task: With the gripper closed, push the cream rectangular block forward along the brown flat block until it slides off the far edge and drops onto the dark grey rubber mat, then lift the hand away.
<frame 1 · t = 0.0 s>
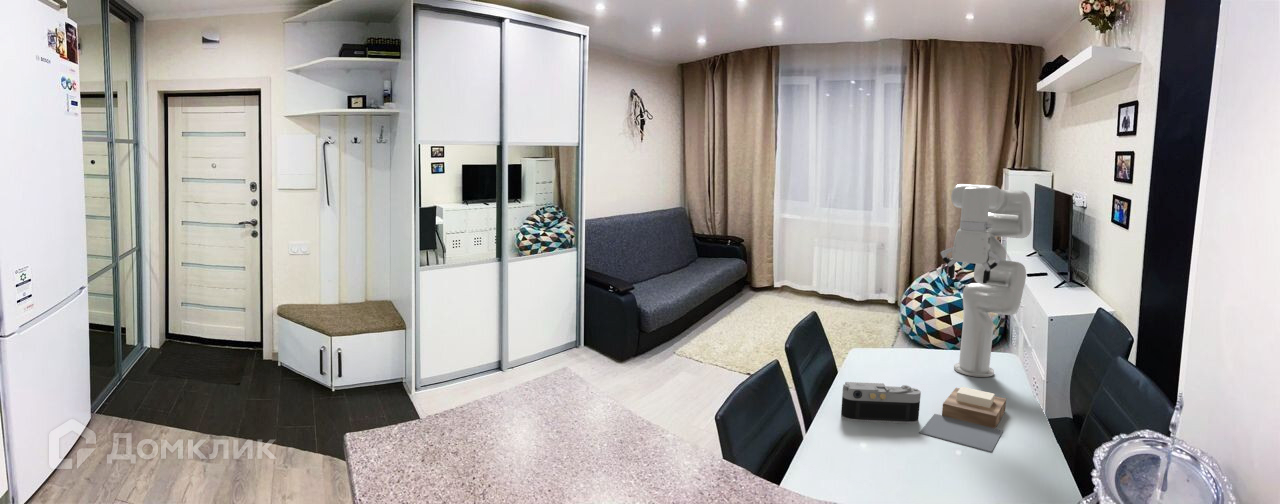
hand: (968, 280, 205), 37 cm above the table, tool pointing down, fingers open, 9 cm apart
mat: (961, 432, 182), on the table
camera: (878, 417, 192), on the table
brown flat block: (973, 413, 194), on the table
cream rectangular block: (975, 401, 194), point 4 cm above the table, touching brown flat block
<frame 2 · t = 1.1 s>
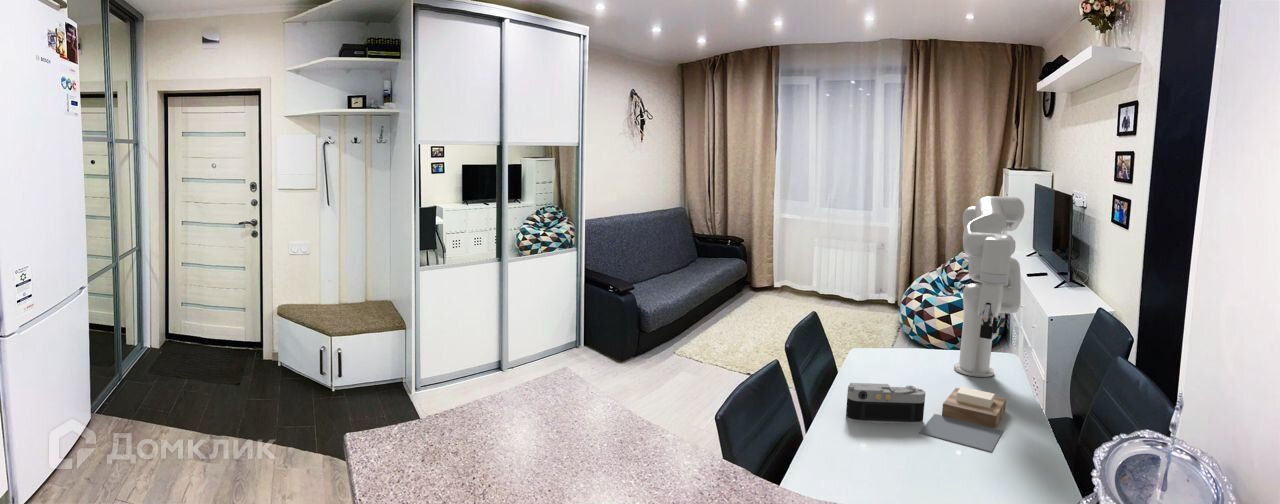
hand: (988, 334, 199), 22 cm above the table, tool pointing down, fingers open, 6 cm apart
camera: (882, 418, 192), on the table
everything else where it was.
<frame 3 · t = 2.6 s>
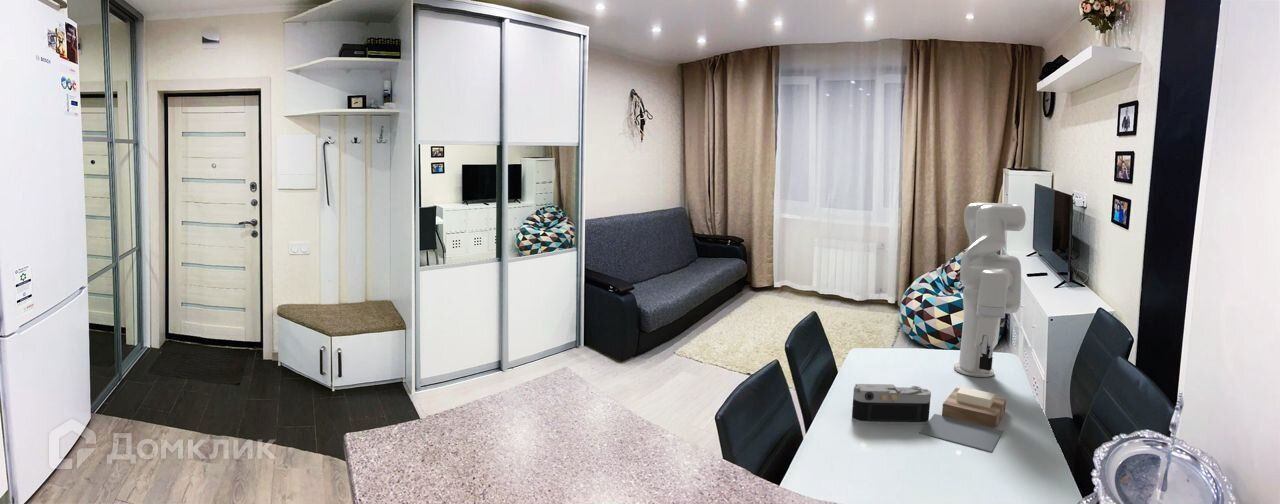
hand: (985, 369, 200), 11 cm above the table, tool pointing down, fingers closed
camera: (888, 418, 191), on the table
everything else where it was.
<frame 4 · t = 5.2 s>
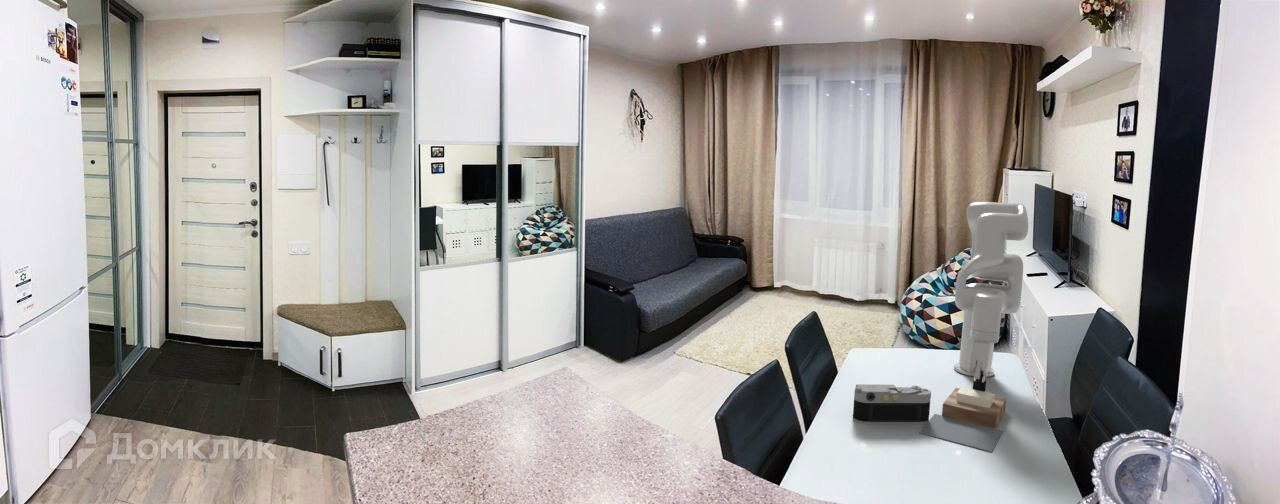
hand: (978, 393, 197), 5 cm above the table, tool pointing down, fingers closed
cream rectangular block: (974, 401, 193), point 4 cm above the table, touching gripper
everything else where it was.
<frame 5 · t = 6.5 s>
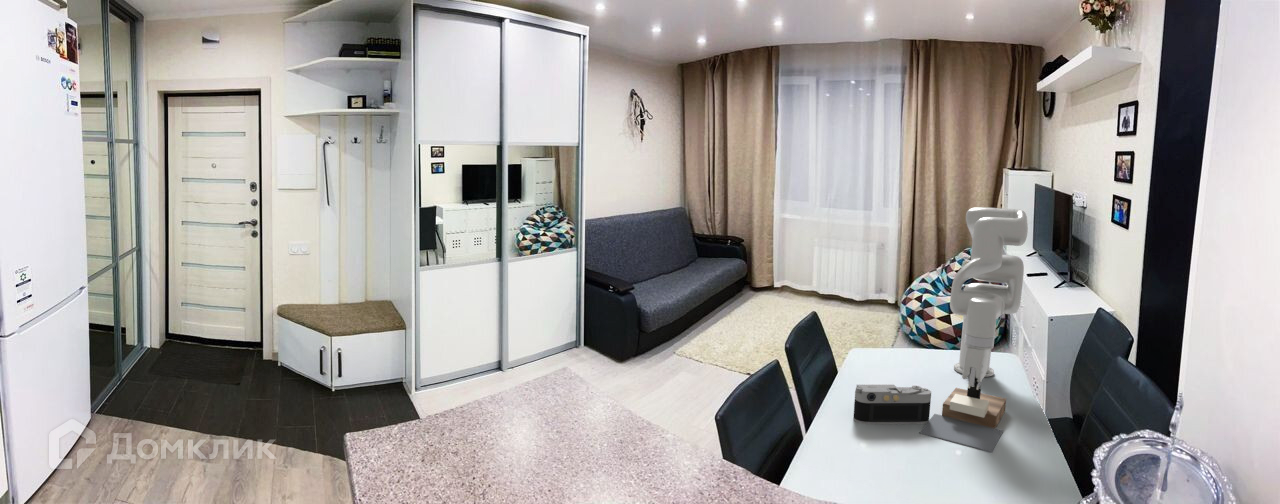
hand: (973, 401, 191), 5 cm above the table, tool pointing down, fingers closed
cream rectangular block: (969, 409, 188), point 4 cm above the table
everything else where it was.
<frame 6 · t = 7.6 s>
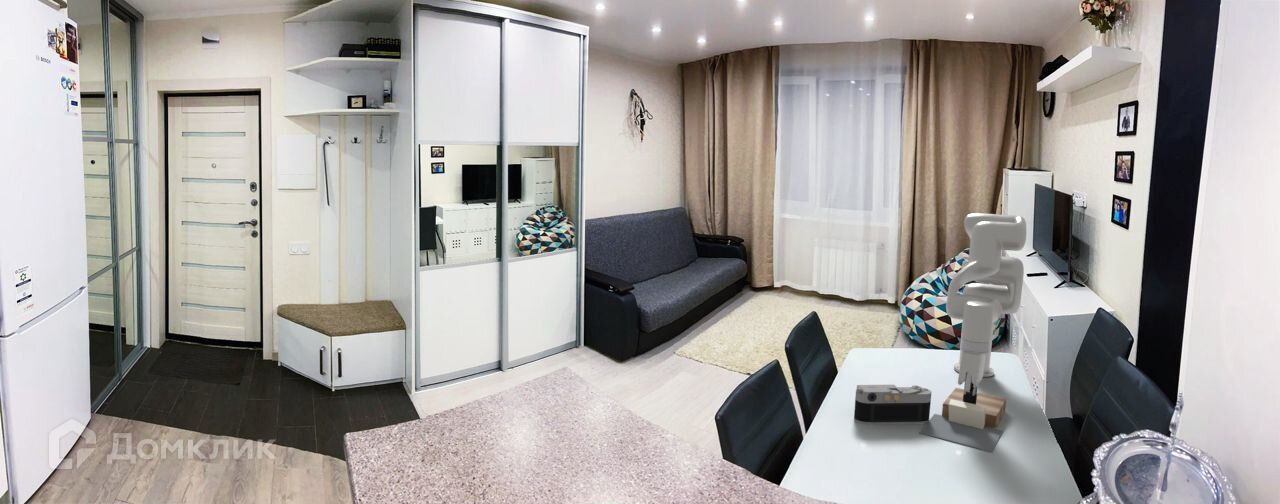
hand: (969, 406, 187), 5 cm above the table, tool pointing down, fingers closed
cream rectangular block: (967, 411, 186), point 4 cm above the table, tilted 108°, touching mat
everything else where it was.
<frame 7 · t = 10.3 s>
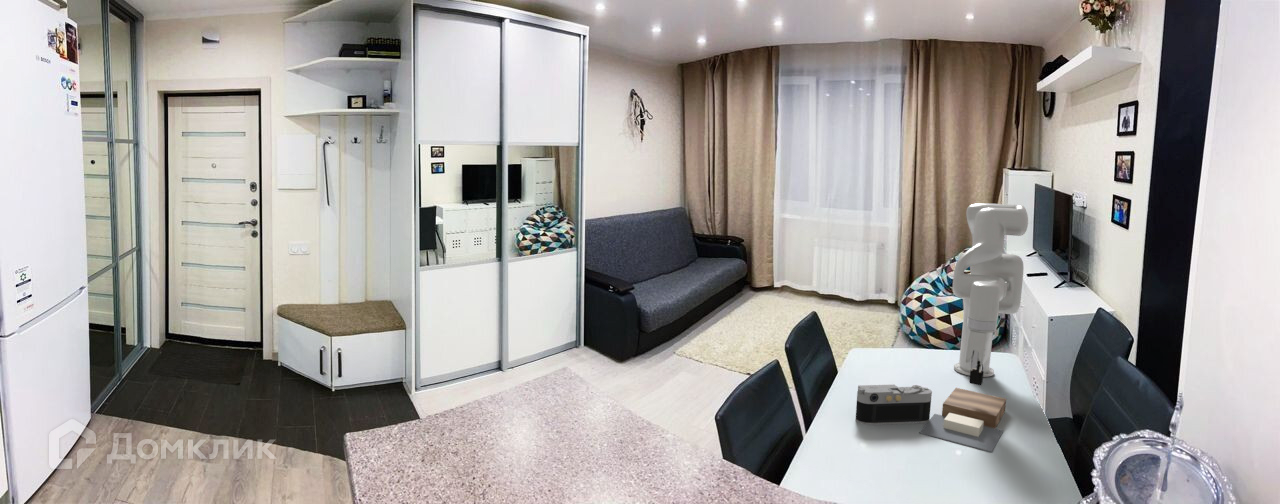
hand: (975, 383, 192), 10 cm above the table, tool pointing down, fingers closed
cream rectangular block: (963, 420, 183), point 3 cm above the table, tilted 180°, touching mat
everything else where it was.
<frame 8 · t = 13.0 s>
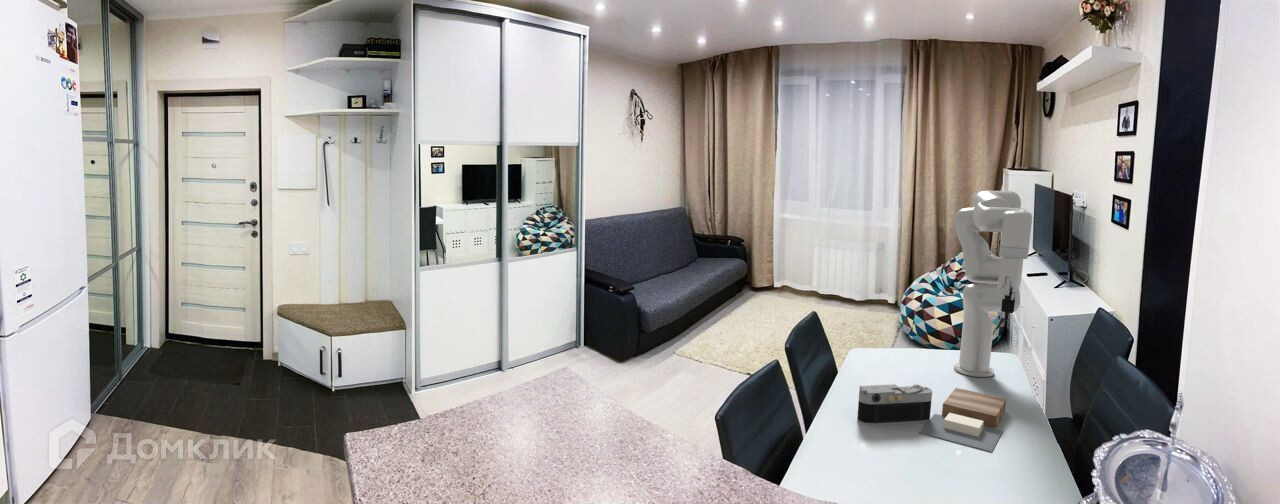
hand: (1007, 311, 198), 29 cm above the table, tool pointing down, fingers closed
at the end: cream rectangular block point 2.8 cm above the table; cream rectangular block inside the target area on the mat (2.2 cm from its centre), point 2.8 cm above the mat's base; cream rectangular block touching mat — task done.
